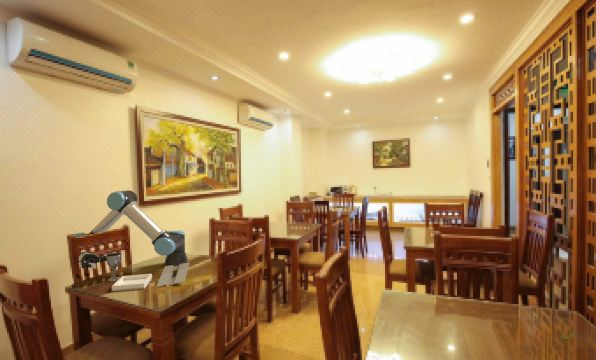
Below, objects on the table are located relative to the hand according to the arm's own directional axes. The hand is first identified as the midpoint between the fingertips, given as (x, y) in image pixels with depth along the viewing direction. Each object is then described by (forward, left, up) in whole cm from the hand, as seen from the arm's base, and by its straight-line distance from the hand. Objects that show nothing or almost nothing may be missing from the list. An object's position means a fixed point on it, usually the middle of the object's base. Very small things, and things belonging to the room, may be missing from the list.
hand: (107, 263), depth 180 cm
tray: (-19, +17, -9) cm, 27 cm away
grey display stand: (-41, +18, -9) cm, 46 cm away
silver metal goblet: (-5, +4, -9) cm, 11 cm away
